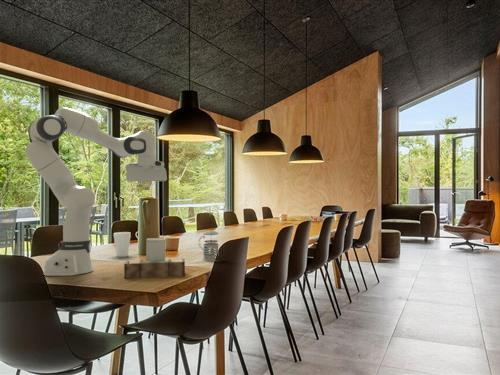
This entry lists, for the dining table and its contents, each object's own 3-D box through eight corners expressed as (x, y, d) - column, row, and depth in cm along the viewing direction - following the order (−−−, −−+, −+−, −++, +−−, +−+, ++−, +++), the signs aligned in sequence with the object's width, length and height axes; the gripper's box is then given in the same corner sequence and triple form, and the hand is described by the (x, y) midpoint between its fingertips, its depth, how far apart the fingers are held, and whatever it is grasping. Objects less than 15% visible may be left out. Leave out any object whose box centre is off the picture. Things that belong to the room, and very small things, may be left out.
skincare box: (145, 276, 182) (145, 239, 182) (146, 273, 189) (146, 238, 189) (165, 275, 184) (165, 239, 184) (165, 272, 190) (165, 237, 190)
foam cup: (121, 257, 235) (121, 233, 235) (110, 256, 240) (109, 233, 240) (134, 255, 243) (134, 232, 244) (123, 254, 248) (122, 231, 248)
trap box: (124, 278, 178) (124, 262, 178) (126, 274, 186) (126, 259, 186) (184, 275, 182) (184, 260, 182) (184, 272, 190) (184, 257, 190)
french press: (217, 260, 221) (217, 212, 221) (196, 260, 223) (195, 212, 223) (222, 257, 231) (222, 211, 231) (202, 257, 233) (201, 211, 233)
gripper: (124, 162, 211) (124, 190, 211) (166, 162, 215) (166, 190, 215) (126, 163, 218) (126, 190, 218) (166, 163, 221) (167, 190, 221)
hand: (146, 190), depth 216 cm, fingers closed
